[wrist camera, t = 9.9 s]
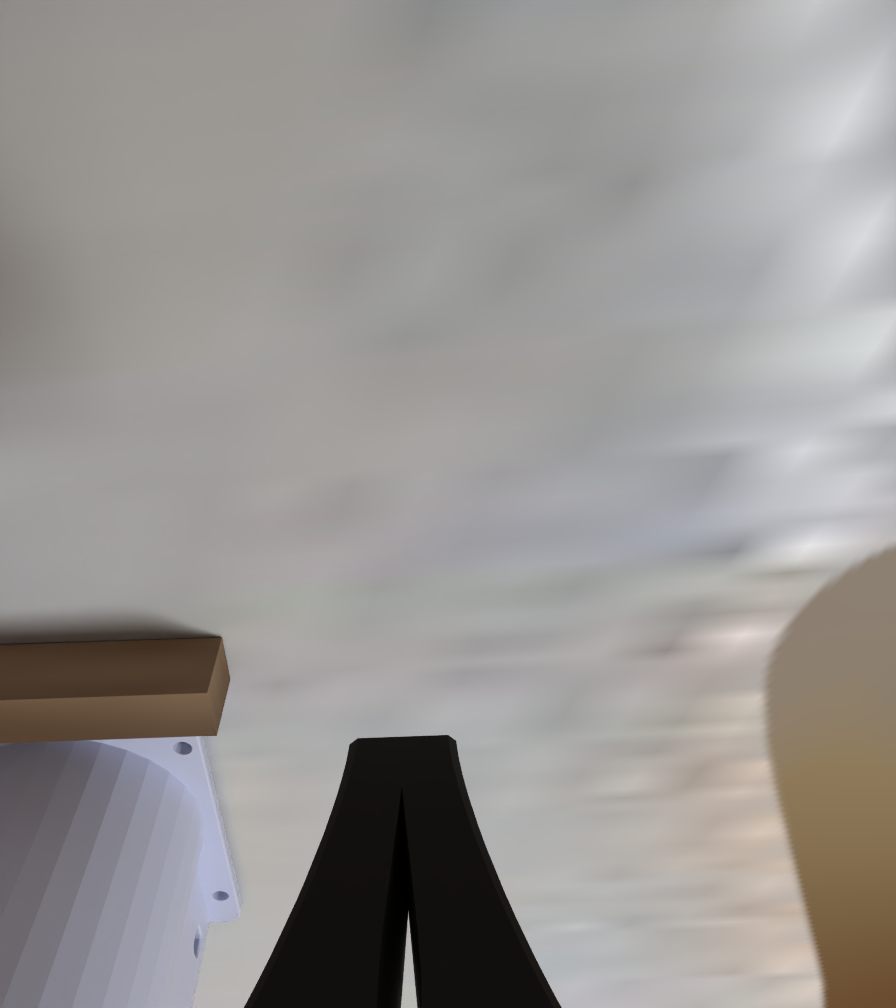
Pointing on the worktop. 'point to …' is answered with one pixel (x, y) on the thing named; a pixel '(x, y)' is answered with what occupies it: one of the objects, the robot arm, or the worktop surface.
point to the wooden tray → (112, 690)
